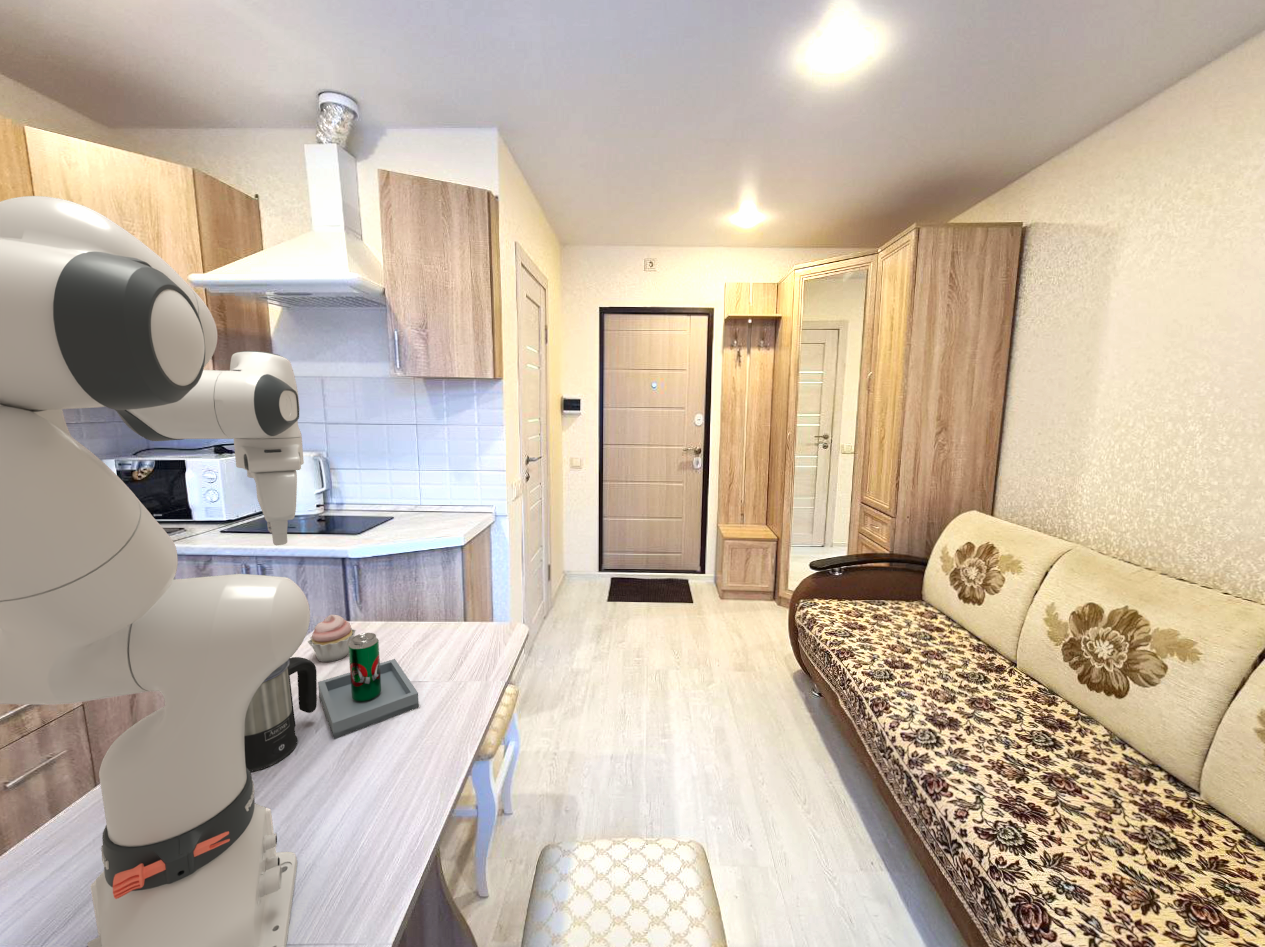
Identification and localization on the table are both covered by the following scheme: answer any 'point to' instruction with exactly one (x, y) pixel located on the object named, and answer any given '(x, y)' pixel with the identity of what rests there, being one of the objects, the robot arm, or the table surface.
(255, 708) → the milk frother
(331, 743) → the table surface
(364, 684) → the soda can
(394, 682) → the tray
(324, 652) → the cupcake
